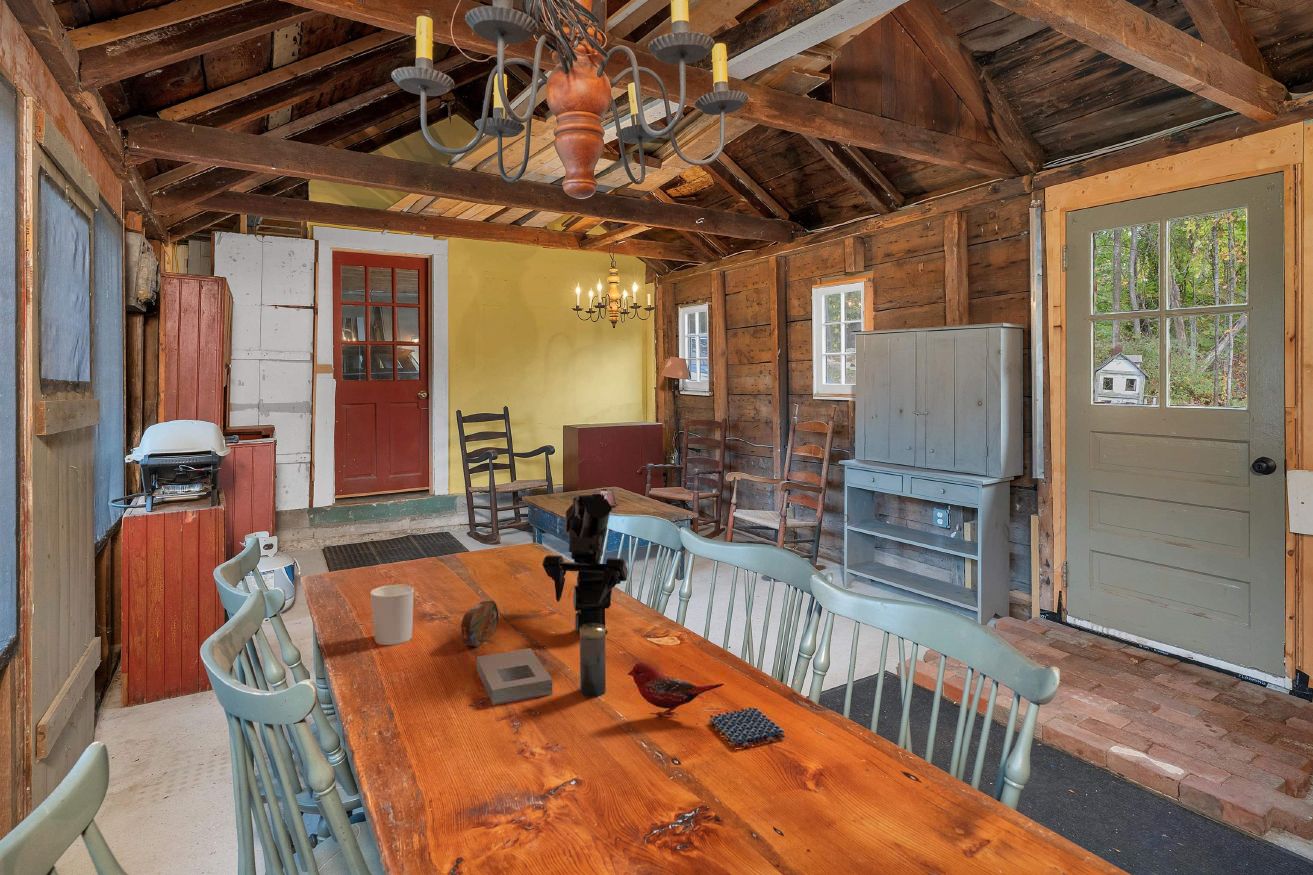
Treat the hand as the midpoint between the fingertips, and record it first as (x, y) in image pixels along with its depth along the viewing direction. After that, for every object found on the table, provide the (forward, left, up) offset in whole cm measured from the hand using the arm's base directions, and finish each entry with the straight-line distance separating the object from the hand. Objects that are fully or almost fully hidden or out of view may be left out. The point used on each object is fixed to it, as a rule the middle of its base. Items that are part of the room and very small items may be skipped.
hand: (577, 602), depth 148 cm
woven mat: (-18, +41, -14) cm, 47 cm away
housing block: (+15, +4, -14) cm, 21 cm away
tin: (+17, -23, -14) cm, 32 cm away
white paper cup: (+36, -32, -14) cm, 50 cm away
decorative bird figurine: (-9, +31, -14) cm, 35 cm away
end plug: (+2, +15, -14) cm, 20 cm away
